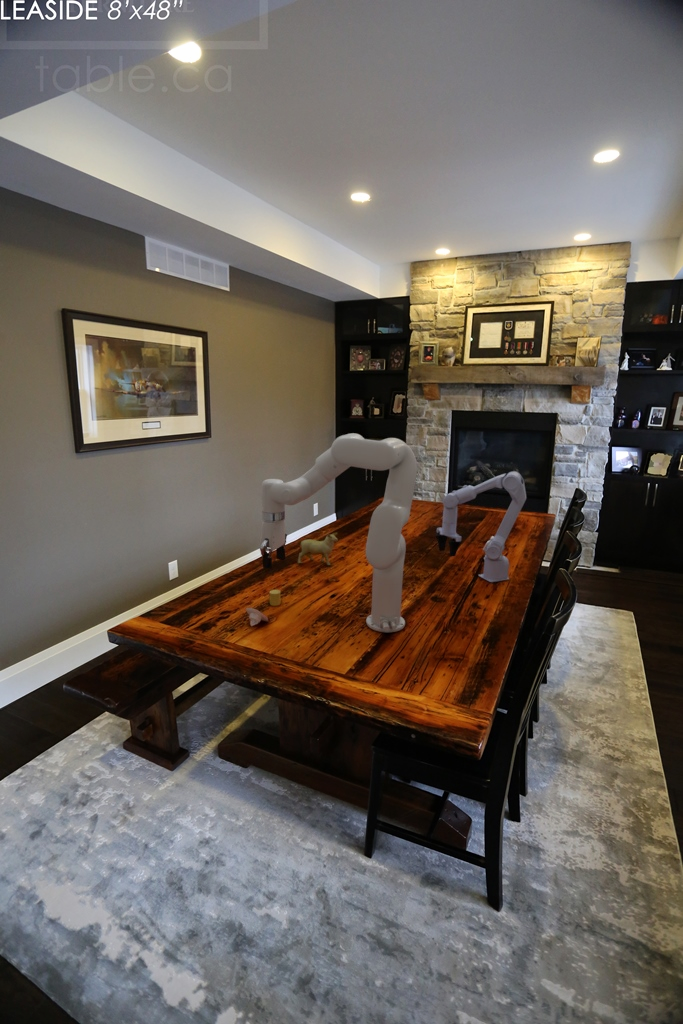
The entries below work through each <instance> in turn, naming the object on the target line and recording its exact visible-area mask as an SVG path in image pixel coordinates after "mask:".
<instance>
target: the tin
mask: <svg viewBox="0 0 683 1024" xmlns="http://www.w3.org/2000/svg"><path fill="white" fill-rule="evenodd" d="M281 603H282V602H281V590H280V589H272V590H270V591H269V605H270V606H272V607H277V606H280V605H281Z"/></svg>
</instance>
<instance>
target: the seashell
mask: <svg viewBox="0 0 683 1024" xmlns="http://www.w3.org/2000/svg"><path fill="white" fill-rule="evenodd" d="M245 611H246V614H248V615H249V616H248V619H249V625H250V626H251V627H253V626H256V625H258V624H259V623H260V622H261V621H265V622H269V618H268V616H267V615H266V614H264V613H263V612H261V611H260V610H259V609H256V608H253V607H245Z"/></svg>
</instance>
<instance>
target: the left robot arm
mask: <svg viewBox="0 0 683 1024" xmlns="http://www.w3.org/2000/svg"><path fill="white" fill-rule="evenodd" d="M417 462H418V461H417V458H416V455H415V453H414V451H413V450H412V448H411V446H409V444H408V443H406V442H405V441H404V440H402V439H400V438H397V437H387V438H384V439H381V440H375V439H367V438H365V437H363V435H361V434H359V433H354V432H352V433H347V434H342V435H340V436H338V437H336V438H335V439H334V440H333V442H332V444H331V446H330V447H329V448H328V449H326V450H325V451H323V452H322V454H320V455H318V457H316V458H315V464H314V465H313V466H312V467H311V468H310V469H308V470H307V471H306V472H305V473H304V474H302V475H301V476H300V477H298V478H296V479H293V480H290V481H286V482H285V481H283V480H282V479H280V478H268V479H264V480H263V481H262V482H261V509H262V510H261V513H262V514H261V519H262V522H261V527H260V547H259V551H260V555H261V558H262V568H263V569H267V570H271V569H273V557H272V554H273V552H274V551H275V552H276V554H275V555H276V559H277V560H281V561H285V560H286V547H287V546H286V544H287V537H288V534H287V533H286V525H285V524H286V523H285V520H286V513H285V511H286V509H285V508H286V507H285V506H294V505H297V504H299V503H301V502H303V501H305V500H308V499H309V498H311V497H312V496H313V495H315V494H316V493H317V492H319V491H320V490H321V489H323V488H325V486H327V485H328V484H329V483H330V482H332V481H334V479H336V478H337V477H338V476H340V475H341V474H342V473H344V472H345V471H347V470H348V469H350V467H353V468H358V469H359V468H360V469H364V470H365V469H366V470H372V471H387V470H389V473H388V477H387V480H386V485H385V491H384V496H383V499H382V502H381V503H380V504H378V506H377V507H376V508H375V509H374V510H373V512H372V515H371V517H370V521H369V528H368V533H367V539H366V544H365V552H364V553H365V559H366V560H367V562H368V564H369V565H370V566H371V567H372V585H371V586H372V587H371V607H370V609H371V613H370V615H368V616H367V617H366V621H365V622H366V623H365V624H366V625H367V627H368V628H369V629H372V630H373V631H376V632H379V633H396V632H398V631H402V630H403V629H404V628H405V626H406V620H405V618H403V617H402V615H401V614H402V599H403V598H402V597H403V580H404V567H405V559H406V549H407V542H406V539H405V537H404V535H403V534H402V530H403V528H404V527H405V525H407V523H408V522H409V520H410V516H411V509H412V503H413V498H414V492H415V487H416V481H417V476H418V464H417Z"/></svg>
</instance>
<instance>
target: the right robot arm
mask: <svg viewBox="0 0 683 1024" xmlns="http://www.w3.org/2000/svg"><path fill="white" fill-rule="evenodd" d="M494 488H497V489H500V490H501V489H503V488H504V489H505V490H506V491H507V492H508V493H509V496H510V498H511V501H510V504H509V506H508V508H507V510H506V512H505V514H504V517H503V518H502V521H501V523H500V524H499V526H498V528H497V531H496V533H495V535H494V539H493V540H491V541H490V542H489V545H488V546H487V548H486V550H485V551H484V553H485V555H484V557H485V560H484V562H483V563H484V564H483V571H482V573H481V574H478V577H480V578H481V579H483V580H485V581H487V582H489V583H497V582H502V581H508V580H510V577H509V570H510V569H509V568H510V561H509V559H508V558H507V556H504V554H503V552H504V550H505V548H506V547H505V542H506V541H507V539H508V537H509V535H510V533H511V531H512V529H513V526H514V524H515V523H516V521H517V519H518V516H519V514H520V512H521V511H522V508H523V507H524V504H525V502H526V500H527V491H526V486H525V480H524V478H523V476H522V474H520V472H519V471H514V470H513V471H509V472H508V473H502V474H500V475H497V476H494V477H492V478H490V479H487V480H485V481H484V482H481V483H479V484H477V485H475V486H473V485H470V484H469V485H467V484H464V485H463V486H462V488H459V489H457V490H452V492H449V493H448V494H446V495H445V496H444V497H443V499H442V505H443V510H442V523H441V527H437V528H436V534H435V535H434V536H435V539H436V541H437V544H438V549H439V551H440V552H443V551H445V550H446V545H447V542H448V546H449V556H450V557H451V558H453V557H456V554H457V552H458V549H459V547H460V546H461V544H463V540H462V536H461V535H460V534H458V533H457V523H458V505H463V504H465V503H466V502H470V501H472V500H474V499H476V497H477V495H478V494H482V493H483V492H485V491H488V490H491V489H494ZM448 538H449V539H448Z"/></svg>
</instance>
